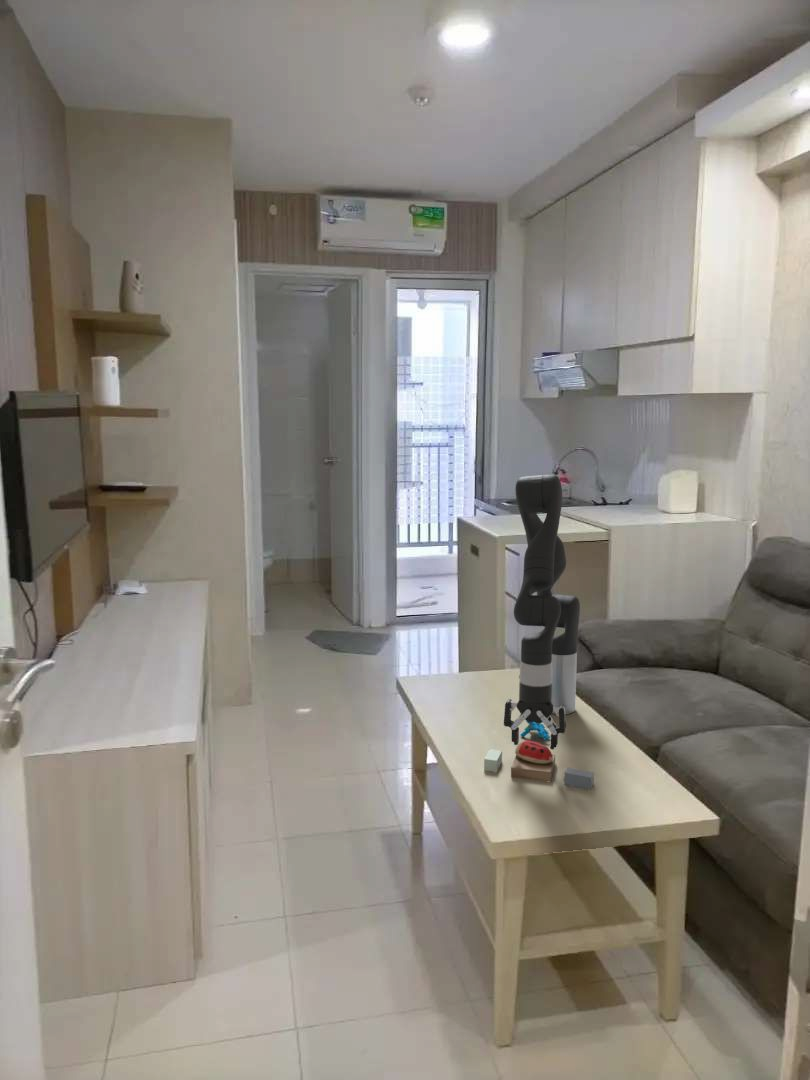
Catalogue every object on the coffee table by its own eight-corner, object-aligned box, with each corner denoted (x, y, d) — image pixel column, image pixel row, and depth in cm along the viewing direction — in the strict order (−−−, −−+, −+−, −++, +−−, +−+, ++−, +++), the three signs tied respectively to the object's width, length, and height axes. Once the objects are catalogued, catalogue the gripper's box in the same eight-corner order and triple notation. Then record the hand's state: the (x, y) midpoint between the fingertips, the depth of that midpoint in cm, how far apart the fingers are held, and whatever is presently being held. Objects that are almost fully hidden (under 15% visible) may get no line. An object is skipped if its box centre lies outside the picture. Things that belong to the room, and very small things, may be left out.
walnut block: (517, 761, 194) (517, 750, 194) (555, 766, 192) (555, 754, 191) (510, 779, 185) (511, 767, 184) (550, 784, 182) (550, 772, 182)
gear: (550, 740, 201) (523, 710, 203) (533, 756, 202) (506, 725, 204) (552, 730, 212) (526, 701, 213) (536, 744, 213) (510, 716, 214)
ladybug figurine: (524, 748, 195) (524, 734, 194) (559, 760, 188) (560, 745, 188) (508, 757, 190) (509, 743, 189) (544, 769, 183) (545, 754, 183)
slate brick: (564, 785, 181) (564, 772, 181) (567, 779, 184) (567, 767, 183) (590, 790, 178) (591, 777, 178) (593, 784, 181) (593, 772, 181)
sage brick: (489, 760, 194) (489, 749, 193) (502, 762, 193) (502, 750, 192) (484, 771, 188) (484, 758, 188) (496, 772, 187) (496, 760, 187)
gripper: (568, 677, 186) (566, 743, 189) (508, 671, 191) (507, 736, 193) (564, 688, 179) (562, 756, 182) (502, 681, 184) (501, 748, 186)
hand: (534, 746), depth 187 cm, fingers open, 8 cm apart
